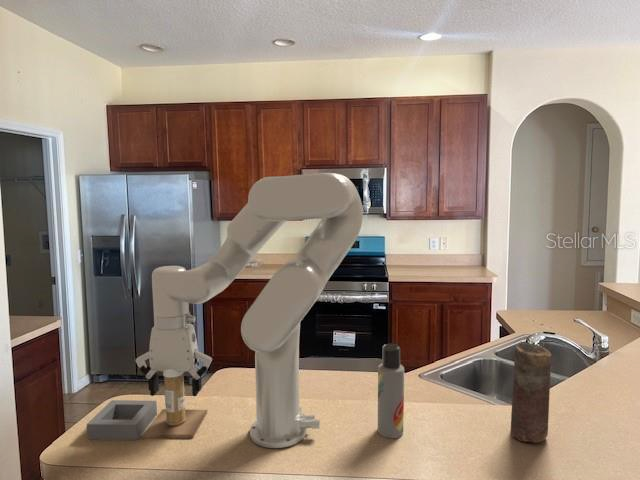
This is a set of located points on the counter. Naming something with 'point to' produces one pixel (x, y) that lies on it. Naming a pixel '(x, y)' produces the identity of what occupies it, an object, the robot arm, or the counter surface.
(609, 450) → the counter surface
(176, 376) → the sprinkles bottle
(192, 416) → the coaster board
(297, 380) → the robot arm
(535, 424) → the candle
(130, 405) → the grey square tray
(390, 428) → the lotion bottle
